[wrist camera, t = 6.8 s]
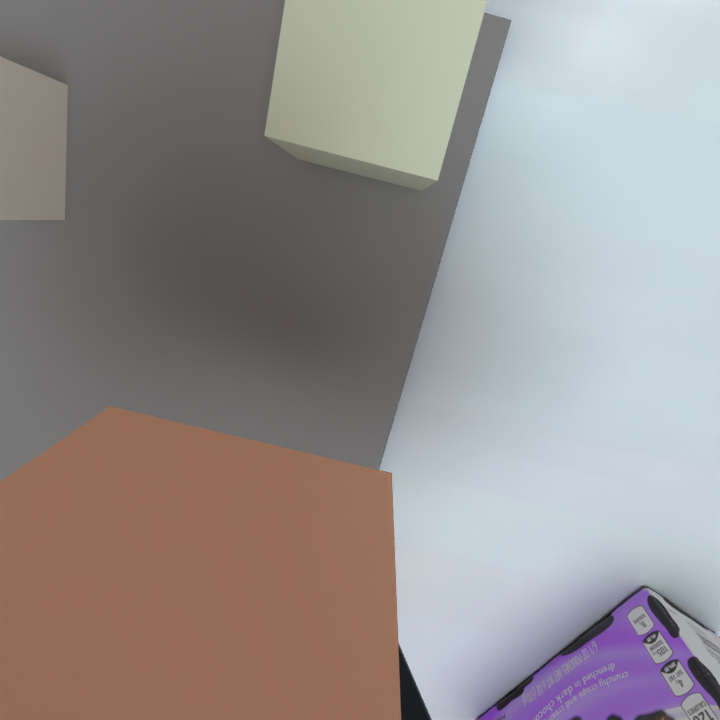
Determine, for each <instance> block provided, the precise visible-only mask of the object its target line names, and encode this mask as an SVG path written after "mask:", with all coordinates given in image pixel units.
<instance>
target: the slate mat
mask: <svg viewBox="0 0 720 720" xmlns="http://www.w3.org/2000/svg"><path fill="white" fill-rule="evenodd" d="M284 5H285V0H0V56H1V57H3V58H5V59H8V60H10V61H12V62H15V63H17V64H19V65H22V66H24V67H26V68H29V69H31V70H34V71H36V72H38V73H41V74H43V75H45V76H48V77H50V78H52V79H55V80H57V81H59V82H62V83H64V84H66V85H68V104H67V149H66V194H65V220H0V482H1V481H2V480H4V479H5V478H7V477H8V476H10V475H11V474H12V473H14V472H15V471H17V470H18V469H20V468H21V467H23V466H24V465H25V464H27V463H28V462H30V461H31V460H33V459H34V458H36V457H37V456H39V455H40V454H41V453H43V452H44V451H46V450H47V449H49V448H50V447H52V446H53V445H55V444H56V443H57V442H59V441H60V440H62V439H63V438H65V437H66V436H68V435H69V434H70V433H72V432H73V431H75V430H76V429H78V428H79V427H81V426H82V425H84V424H85V423H86V422H88V421H89V420H91V419H92V418H94V417H95V416H97V415H98V414H99V413H101V412H102V411H104V410H105V409H107V408H108V407H110V406H111V407H116V408H120V409H124V410H128V411H132V412H137V413H141V414H145V415H149V416H153V417H158V418H162V419H166V420H170V421H174V422H179V423H183V424H187V425H191V426H195V427H200V428H204V429H208V430H212V431H216V432H221V433H225V434H229V435H233V436H237V437H242V438H246V439H250V440H254V441H258V442H263V443H267V444H271V445H275V446H280V447H284V448H288V449H292V450H296V451H301V452H305V453H309V454H313V455H317V456H322V457H326V458H330V459H334V460H338V461H343V462H347V463H351V464H355V465H359V466H364V467H368V468H372V469H376V470H379V467H380V464H381V461H382V457H383V454H384V450H385V447H386V444H387V440H388V437H389V433H390V430H391V427H392V423H393V420H394V416H395V413H396V410H397V406H398V403H399V400H400V396H401V393H402V389H403V386H404V383H405V379H406V376H407V372H408V369H409V366H410V362H411V359H412V355H413V352H414V349H415V345H416V342H417V338H418V335H419V332H420V328H421V325H422V322H423V318H424V315H425V311H426V308H427V305H428V301H429V298H430V294H431V291H432V288H433V284H434V281H435V277H436V274H437V271H438V267H439V264H440V260H441V257H442V254H443V250H444V247H445V244H446V240H447V237H448V233H449V230H450V227H451V223H452V220H453V216H454V213H455V210H456V206H457V203H458V199H459V196H460V193H461V189H462V186H463V182H464V179H465V176H466V172H467V169H468V166H469V162H470V159H471V155H472V152H473V149H474V145H475V142H476V138H477V135H478V132H479V128H480V125H481V121H482V118H483V115H484V111H485V108H486V105H487V101H488V98H489V94H490V91H491V88H492V84H493V81H494V77H495V74H496V71H497V67H498V64H499V60H500V57H501V54H502V50H503V47H504V43H505V40H506V37H507V33H508V30H509V27H510V23H511V20H509V19H505V18H501V17H498V16H494V15H490V14H487V13H484V15H483V19H482V23H481V26H480V30H479V33H478V37H477V41H476V44H475V48H474V52H473V55H472V59H471V62H470V66H469V70H468V73H467V77H466V80H465V84H464V88H463V91H462V95H461V99H460V102H459V106H458V109H457V113H456V117H455V120H454V124H453V127H452V131H451V135H450V138H449V142H448V145H447V149H446V153H445V156H444V160H443V164H442V167H441V171H440V174H439V178H438V181H436V182H435V183H433V184H432V185H431V186H429V187H428V188H426V189H425V190H423V191H419V190H415V189H411V188H407V187H404V186H400V185H396V184H392V183H388V182H384V181H380V180H376V179H373V178H369V177H365V176H361V175H357V174H353V173H349V172H345V171H341V170H338V169H334V168H330V167H326V166H322V165H318V164H314V163H310V162H307V161H303V160H299V159H297V158H295V157H294V156H292V155H291V154H289V153H288V152H287V151H285V150H284V149H282V148H281V147H280V146H278V145H277V144H275V143H274V142H273V141H271V140H270V139H268V138H267V137H265V136H264V135H265V128H266V122H267V115H268V109H269V102H270V96H271V89H272V83H273V76H274V70H275V63H276V57H277V50H278V44H279V37H280V31H281V24H282V18H283V11H284Z"/></svg>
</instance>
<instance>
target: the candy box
mask: <svg viewBox="0 0 720 720" xmlns="http://www.w3.org/2000/svg"><path fill="white" fill-rule="evenodd" d="M478 720H720V637H718V636H717V635H715V634H714V633H712V632H711V631H710V630H708V629H707V628H706V627H704V626H703V625H701V624H700V623H698V622H697V621H695V620H693V619H692V618H691V617H689V616H688V615H686V614H685V613H684V612H682V611H681V610H680V609H678V608H677V607H676V606H674V605H673V604H672V603H671V602H669V601H668V600H666V599H665V598H663V597H662V596H660V595H658V594H657V593H655V592H654V591H652V590H651V589H649V588H644V589H642V590H641V591H639V592H638V593H637V594H635V595H634V596H633V597H631V598H630V599H628V600H627V601H626V602H625V603H623V604H622V605H621V606H620V607H618V608H617V609H616V610H615V611H614V612H613V613H612V614H611V615H610V616H608V617H607V618H606V619H604V620H603V621H602V622H601V623H599V624H598V625H596V626H595V627H594V628H592V629H591V630H590V631H588V632H587V633H586V634H585V635H583V636H582V637H581V638H580V639H579V640H578V641H577V642H575V643H574V644H573V645H571V646H570V647H569V648H567V649H566V650H565V651H563V652H562V653H561V654H559V655H558V656H557V657H556V658H554V659H553V660H552V661H551V662H549V663H548V664H547V665H546V666H545V667H543V668H542V669H541V670H540V671H538V672H537V673H536V674H535V675H533V676H532V677H531V678H529V679H528V680H527V681H525V682H524V683H523V684H522V685H521V686H520V687H518V688H517V689H516V690H515V691H514V692H512V693H511V694H510V695H509V696H507V697H506V698H505V699H503V700H502V701H500V702H499V703H498V704H497V705H496V706H494V707H493V708H491V709H490V710H489V711H488V712H487V713H486V714H484V715H483V716H482V717H481V718H479V719H478Z"/></svg>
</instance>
